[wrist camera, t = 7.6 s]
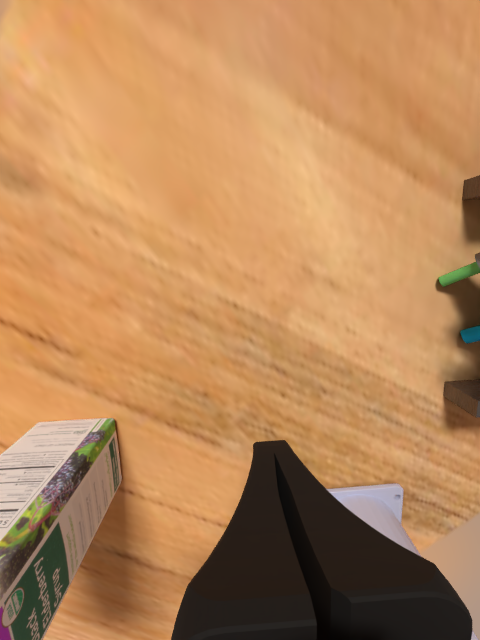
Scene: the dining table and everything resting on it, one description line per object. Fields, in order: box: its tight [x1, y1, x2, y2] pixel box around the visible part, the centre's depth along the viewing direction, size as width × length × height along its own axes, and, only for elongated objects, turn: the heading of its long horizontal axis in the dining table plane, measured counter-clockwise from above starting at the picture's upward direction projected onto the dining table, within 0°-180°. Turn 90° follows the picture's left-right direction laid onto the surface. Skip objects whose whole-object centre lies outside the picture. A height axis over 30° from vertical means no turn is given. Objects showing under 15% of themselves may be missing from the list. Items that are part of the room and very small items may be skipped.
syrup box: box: [0, 418, 122, 640], centre depth 15 cm, size 6×6×14 cm
